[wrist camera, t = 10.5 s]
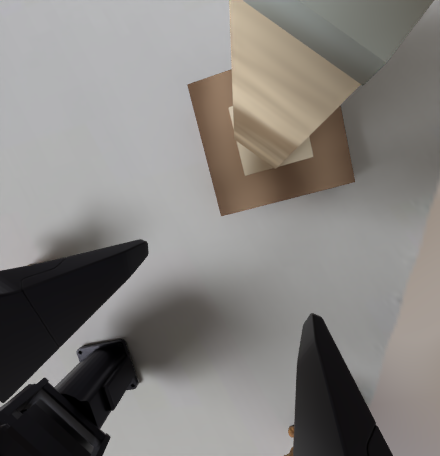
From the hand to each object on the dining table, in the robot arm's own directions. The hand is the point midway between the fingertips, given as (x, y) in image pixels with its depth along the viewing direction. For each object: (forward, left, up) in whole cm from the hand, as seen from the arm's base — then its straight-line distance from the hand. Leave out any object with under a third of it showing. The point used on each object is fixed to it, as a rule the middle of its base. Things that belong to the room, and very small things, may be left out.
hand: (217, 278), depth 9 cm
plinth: (+6, +9, -11) cm, 16 cm away
